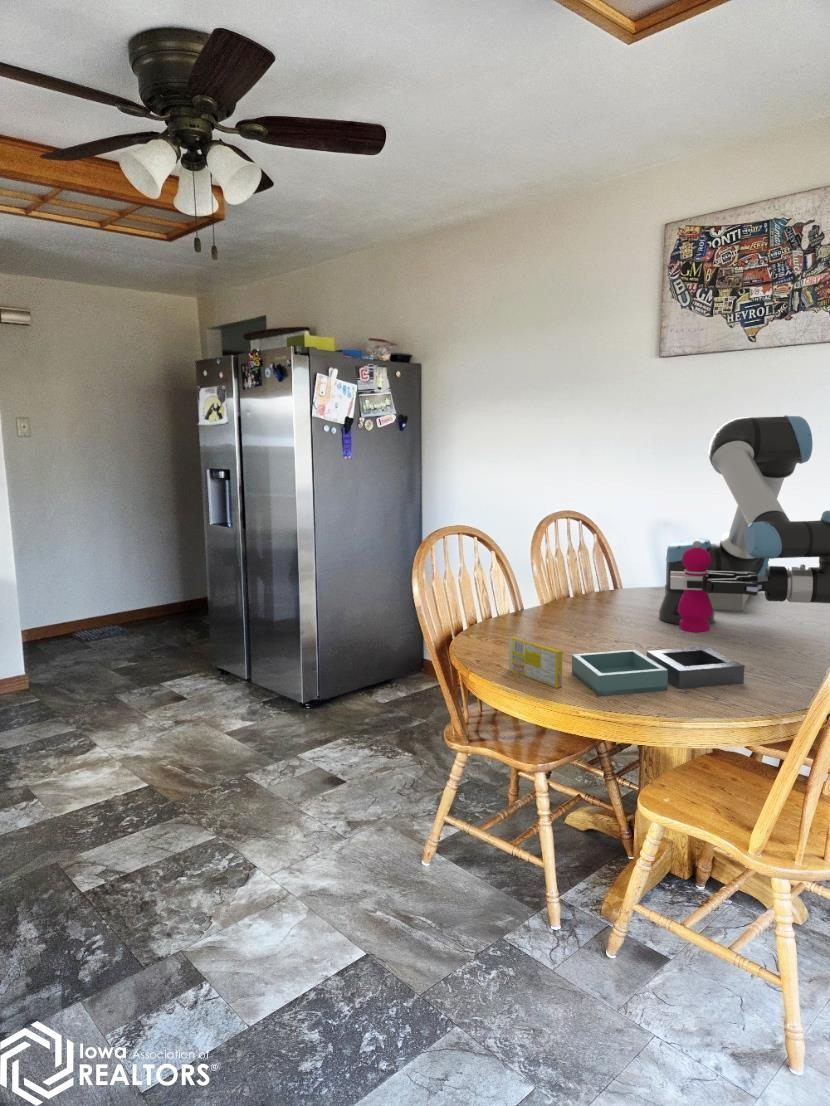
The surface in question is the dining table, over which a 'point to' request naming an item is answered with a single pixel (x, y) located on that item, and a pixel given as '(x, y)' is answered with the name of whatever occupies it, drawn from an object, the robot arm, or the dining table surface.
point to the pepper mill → (695, 592)
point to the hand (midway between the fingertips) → (670, 580)
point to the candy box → (535, 661)
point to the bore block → (698, 667)
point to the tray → (619, 672)
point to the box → (727, 601)
